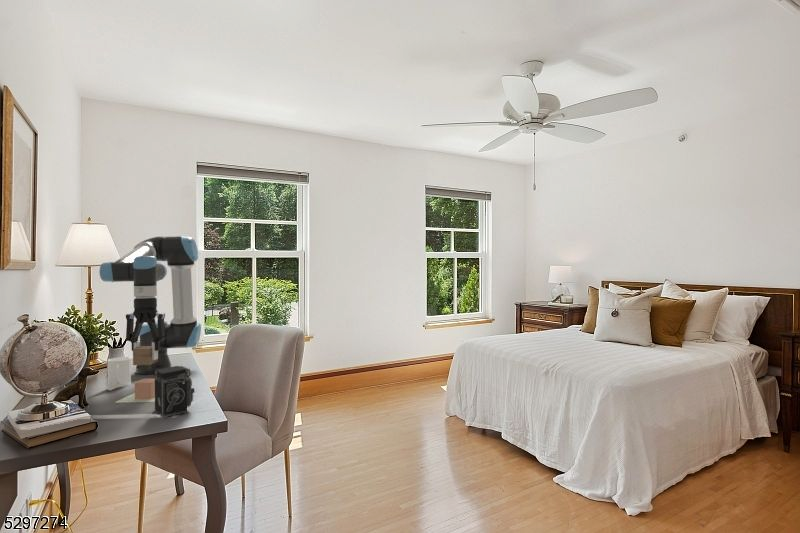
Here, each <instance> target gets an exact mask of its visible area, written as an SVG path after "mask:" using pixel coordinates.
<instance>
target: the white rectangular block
mask: <svg viewBox="0 0 800 533" xmlns="http://www.w3.org/2000/svg"><path fill="white" fill-rule="evenodd" d="M131 361H132V359H131V357H130V356H129V357H128V356H120V357H113V358H109V359H107V388H106V390H107V391H113V390H115V389H117V388H123V387H128V386H130V385H131V384H132V380H131V378H132V377H131V376H132V374H131V372H132V371H131V368H132V367H131V365H132V364H131Z"/></svg>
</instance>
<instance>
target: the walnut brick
mask: <svg viewBox="0 0 800 533" xmlns="http://www.w3.org/2000/svg"><path fill="white" fill-rule="evenodd" d="M156 362H158V359H156V360H152V346H141V347H137V348H134V349H133V351H132V366H137V365H151V364H153V363H156Z"/></svg>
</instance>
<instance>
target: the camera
mask: <svg viewBox="0 0 800 533" xmlns="http://www.w3.org/2000/svg"><path fill="white" fill-rule="evenodd" d="M154 374H155V375H156V376H155V377H154V379H155V402H154V410H155V412H157V413H158V414H159V415H161V416H162V417H163V418H167V417H170V416H171V417H172V416H176V415H180V414H186V413H188V407H190V406H191V405H192V402H193V400H194V393H195V388H194V387H193V388H192V386H193V380H192V377H190V376H191V369H190V368H188V367H186V366H183V365H180V366H179V365H175V366H171V367H169V368H164V369H158V370H155V373H154Z"/></svg>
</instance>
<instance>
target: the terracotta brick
mask: <svg viewBox="0 0 800 533" xmlns="http://www.w3.org/2000/svg"><path fill="white" fill-rule="evenodd" d="M134 393H135V399H152V398H154V397H155V378H142V379H140V380H138V381H135V382H134Z"/></svg>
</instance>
